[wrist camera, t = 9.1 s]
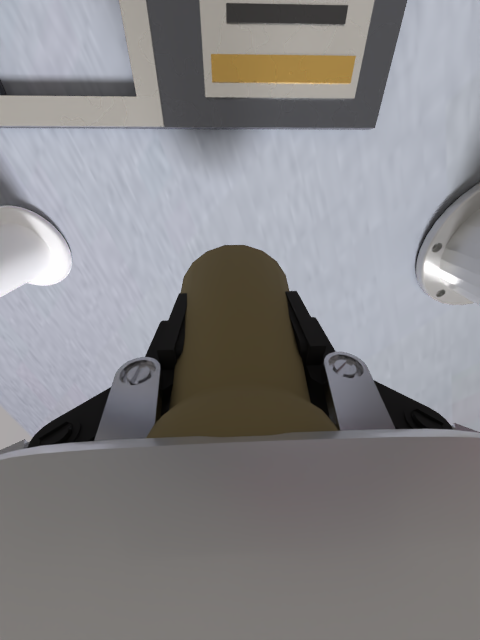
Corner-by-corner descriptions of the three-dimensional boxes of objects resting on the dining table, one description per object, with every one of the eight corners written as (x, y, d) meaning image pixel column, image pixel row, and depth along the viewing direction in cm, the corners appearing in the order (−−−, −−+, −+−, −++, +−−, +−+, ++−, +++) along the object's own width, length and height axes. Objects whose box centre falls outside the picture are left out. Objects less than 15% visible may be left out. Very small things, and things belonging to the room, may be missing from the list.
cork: (290, 333, 14) (400, 626, 5) (197, 347, 15) (143, 645, 5) (286, 234, 11) (579, 573, 2) (165, 255, 11) (-113, 633, 2)
